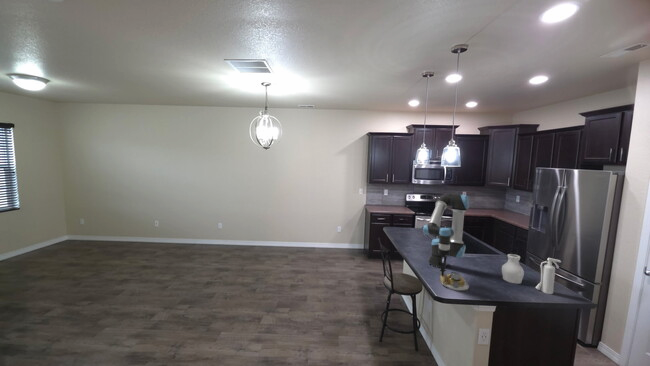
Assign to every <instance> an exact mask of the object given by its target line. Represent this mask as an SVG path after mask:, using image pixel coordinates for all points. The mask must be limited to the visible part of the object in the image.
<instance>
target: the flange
mask: <svg viewBox="0 0 650 366" xmlns="http://www.w3.org/2000/svg"><path fill="white" fill-rule="evenodd" d="M450 274H451V278H453V280H455V281H453V285H450V284H443V283H441V285H442V284H443V285H444V286H445V287H444V286H443V285H442V286H443V287H444V288H446V289H448V288H449V289H448V290H450V291H451V290H452V291H455V292H467V291H469V288H470V285H469V284H468V282H466V281H465V285H464V286H458V282H456V281H460V275H461V274H460V273H459V272H456V271H451V272H450Z"/></svg>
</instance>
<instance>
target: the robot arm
mask: <svg viewBox="0 0 650 366" xmlns="http://www.w3.org/2000/svg"><path fill="white" fill-rule="evenodd" d="M434 207H435V208H434V210H433V212H432V214H431V217H430V219H429V222H428V224H424V225H423V227H422V232H423V234H424V235H428V236H433V237H438V238H433V239H432V240H431V248H430V249H431V250H430V256H429V259H428V262H429V263H430V264H431V265H433V266H432V267H434V266H437V267H436V268H438V267H441V268H440V269H439V272H440V278H439V279H440V280H441V275H445V274H446V271H447V270H446V268H447V267H446V266H447V265H448V263H447V256H449V257H453V258H457V259H462V258H463V257H464V256H465V252H466V244H465V243H464V241H463V233H464V231H463V230H464V222H465V221H464V220H465V219H464V218H465V212H467V211H468V209H469V208H470V199H469V196H468V195H465V194H457V193H445V194H442V195H441V196H439V197H438V199H436V202H435V206H434ZM447 208H451V211H452V221H451V227H442V226H439V225H440V222H441V220H442V217H443V215H444V212H445V210H446V209H447ZM429 263H428V264H429ZM431 265H430V266H431Z"/></svg>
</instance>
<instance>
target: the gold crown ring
mask: <svg viewBox="0 0 650 366" xmlns="http://www.w3.org/2000/svg"><path fill="white" fill-rule="evenodd" d="M440 276H441V279H440V283H441V284H442V283H443V284H450V285H453V281H455V280H453V278H451V273H446V275H441V274H440ZM456 282H458V286H464V285H465V282H466V279H465V278H463V277H462V275H461V274H460V281H456Z"/></svg>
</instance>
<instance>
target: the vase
mask: <svg viewBox="0 0 650 366" xmlns="http://www.w3.org/2000/svg"><path fill="white" fill-rule="evenodd" d="M520 259H521V256H520V255H518V254H514V253H508V254H507V261H506V262H505V263H504V264H502V265H501V273H502V279H503V281H505V282H507V283H510V284H516V285H521V284H522V281H523V279H524V275H525V271H524V269H523V267H522V266H521V265H520Z"/></svg>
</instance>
